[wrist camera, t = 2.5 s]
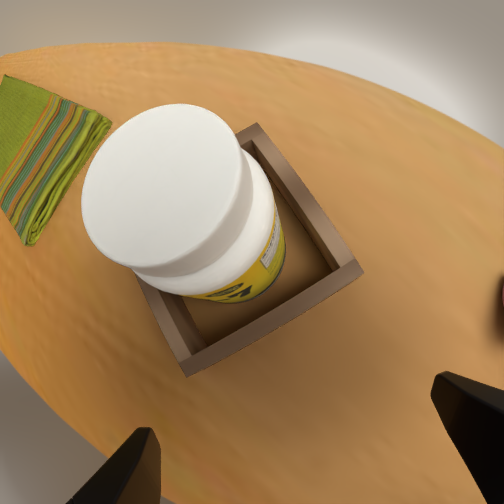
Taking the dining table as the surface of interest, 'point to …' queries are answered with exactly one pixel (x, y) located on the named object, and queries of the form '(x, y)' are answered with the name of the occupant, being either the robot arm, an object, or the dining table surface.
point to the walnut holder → (344, 272)
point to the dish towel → (41, 152)
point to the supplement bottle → (184, 206)
